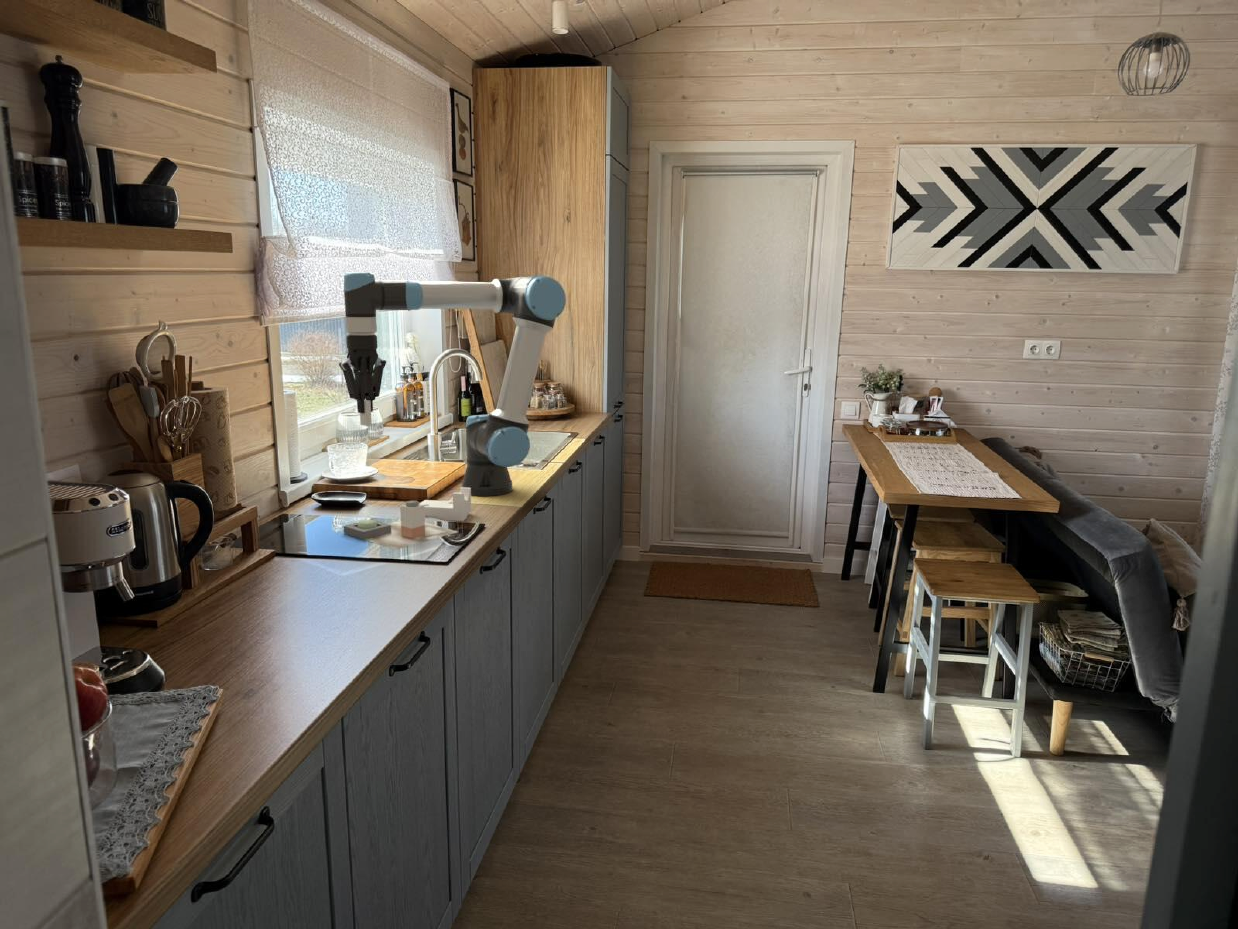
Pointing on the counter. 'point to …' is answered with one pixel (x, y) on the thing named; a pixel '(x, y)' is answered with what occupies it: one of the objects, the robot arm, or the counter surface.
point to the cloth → (398, 541)
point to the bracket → (450, 506)
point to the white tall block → (412, 519)
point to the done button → (367, 524)
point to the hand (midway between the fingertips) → (366, 425)
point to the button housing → (367, 530)
